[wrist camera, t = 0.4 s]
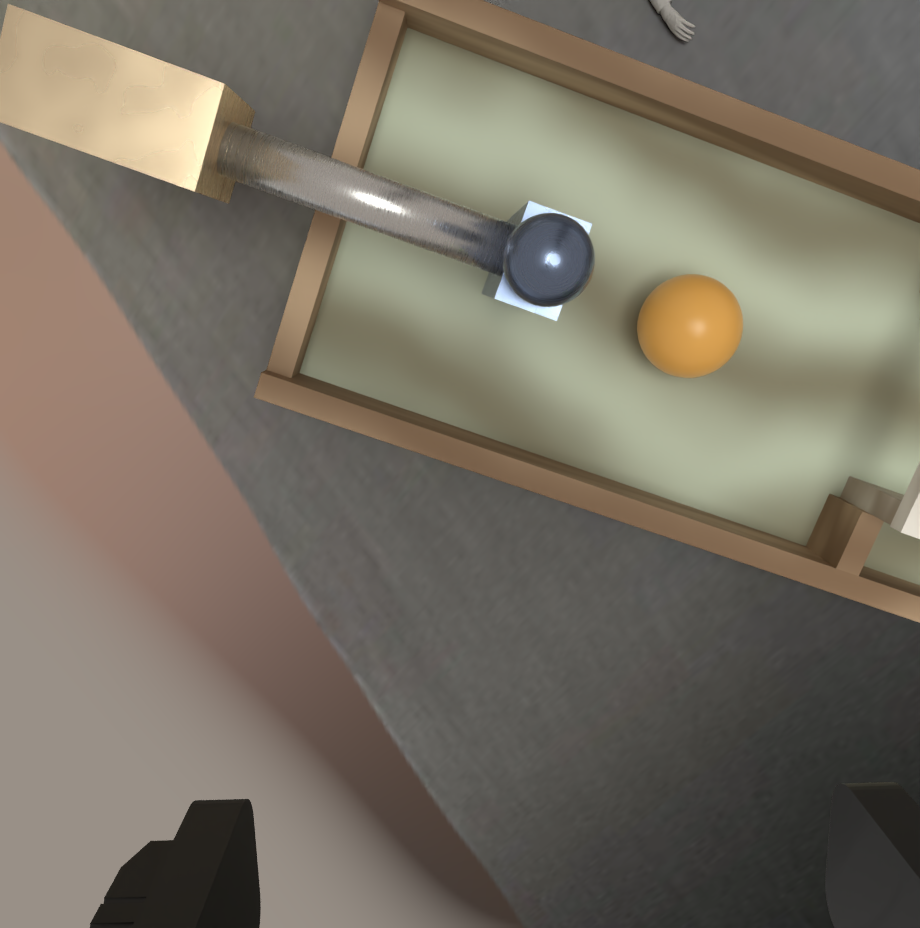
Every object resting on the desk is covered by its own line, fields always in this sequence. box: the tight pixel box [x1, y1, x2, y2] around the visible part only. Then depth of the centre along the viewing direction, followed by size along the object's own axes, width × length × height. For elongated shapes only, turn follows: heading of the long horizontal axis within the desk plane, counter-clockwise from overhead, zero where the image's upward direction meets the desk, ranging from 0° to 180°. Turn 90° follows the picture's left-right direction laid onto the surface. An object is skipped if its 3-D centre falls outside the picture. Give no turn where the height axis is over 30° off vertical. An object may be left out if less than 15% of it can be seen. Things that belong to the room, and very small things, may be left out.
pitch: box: [254, 0, 920, 622], centre depth 34 cm, size 16×30×7 cm, turn 71°
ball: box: [637, 274, 743, 378], centre depth 34 cm, size 4×4×4 cm
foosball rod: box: [0, 4, 595, 321], centre depth 28 cm, size 3×17×12 cm, turn 71°
